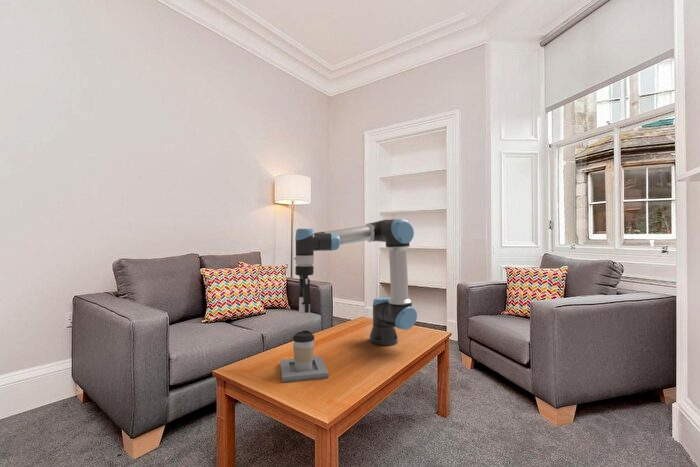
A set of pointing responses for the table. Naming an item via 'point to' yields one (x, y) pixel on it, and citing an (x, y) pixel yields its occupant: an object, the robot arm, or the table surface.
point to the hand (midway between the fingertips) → (304, 316)
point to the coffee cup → (303, 350)
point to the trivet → (292, 375)
